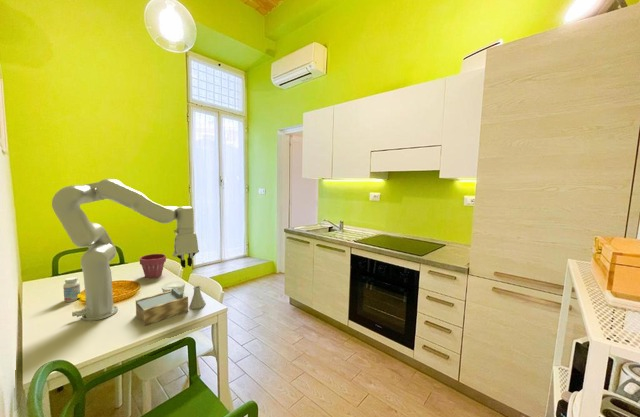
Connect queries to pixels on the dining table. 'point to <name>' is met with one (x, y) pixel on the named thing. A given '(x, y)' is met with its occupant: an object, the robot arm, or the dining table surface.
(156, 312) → the wooden box
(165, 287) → the ramekin
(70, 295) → the pill bottle
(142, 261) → the plant pot
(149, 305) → the lid
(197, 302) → the flask
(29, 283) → the dining table surface
